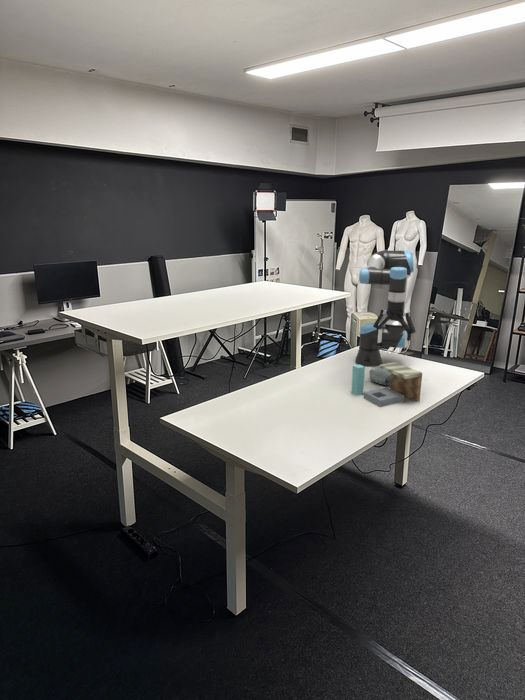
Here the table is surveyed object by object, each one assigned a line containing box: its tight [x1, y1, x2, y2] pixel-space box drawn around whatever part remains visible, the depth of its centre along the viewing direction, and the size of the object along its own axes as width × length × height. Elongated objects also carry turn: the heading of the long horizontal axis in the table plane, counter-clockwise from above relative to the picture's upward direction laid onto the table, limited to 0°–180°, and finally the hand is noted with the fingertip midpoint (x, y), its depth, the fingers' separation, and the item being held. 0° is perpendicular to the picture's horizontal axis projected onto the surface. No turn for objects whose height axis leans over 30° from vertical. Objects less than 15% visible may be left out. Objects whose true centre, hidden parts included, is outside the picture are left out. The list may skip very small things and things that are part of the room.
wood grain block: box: [378, 361, 423, 402], centre depth 225 cm, size 18×10×14 cm, turn 27°
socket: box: [363, 386, 405, 408], centre depth 222 cm, size 12×14×3 cm
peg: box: [351, 364, 366, 396], centre depth 228 cm, size 4×4×14 cm
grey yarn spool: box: [368, 366, 391, 386], centre depth 243 cm, size 14×10×10 cm
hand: (392, 344), depth 227 cm, fingers open, 13 cm apart
